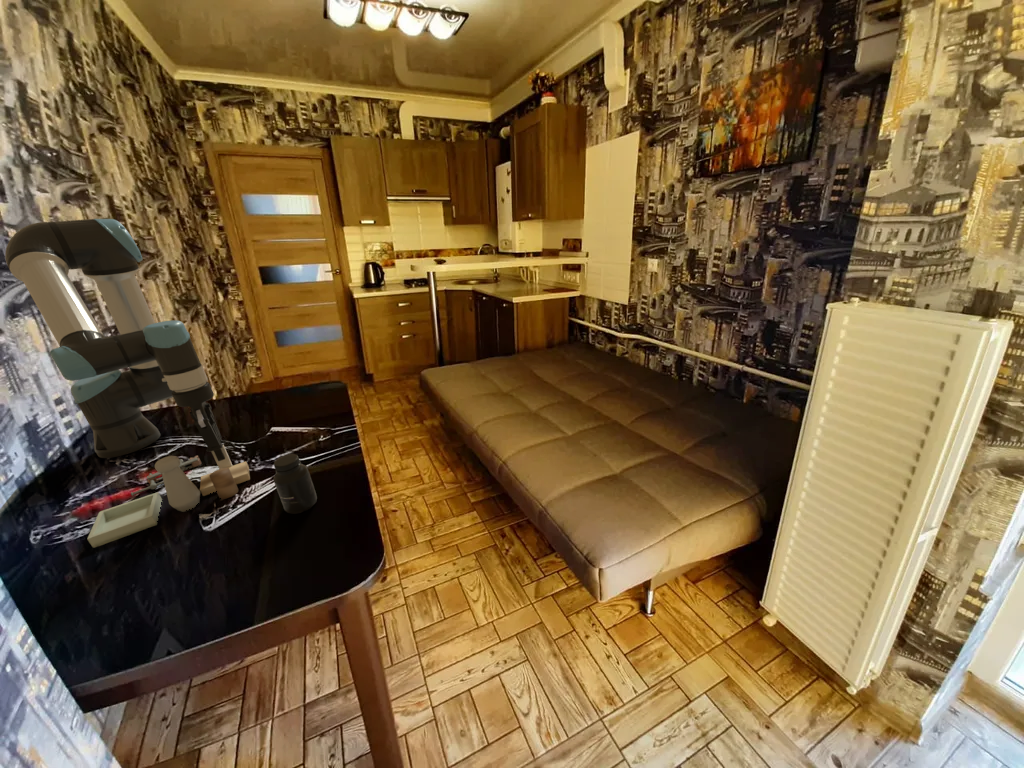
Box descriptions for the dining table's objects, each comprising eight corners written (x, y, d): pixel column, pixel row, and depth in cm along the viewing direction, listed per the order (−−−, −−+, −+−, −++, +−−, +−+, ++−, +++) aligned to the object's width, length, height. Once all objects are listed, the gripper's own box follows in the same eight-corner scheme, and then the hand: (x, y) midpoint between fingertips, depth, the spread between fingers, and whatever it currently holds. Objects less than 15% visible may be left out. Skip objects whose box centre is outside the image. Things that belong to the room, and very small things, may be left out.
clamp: (195, 451, 115) (202, 463, 108) (198, 457, 116) (205, 470, 109) (127, 476, 106) (129, 492, 99) (131, 483, 107) (133, 499, 100)
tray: (104, 520, 92) (99, 511, 91) (162, 500, 98) (158, 492, 97) (93, 548, 84) (87, 539, 83) (156, 524, 89) (151, 515, 88)
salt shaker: (184, 499, 97) (161, 453, 92) (209, 496, 97) (187, 450, 92) (167, 515, 92) (142, 468, 87) (193, 512, 92) (169, 465, 87)
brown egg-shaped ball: (219, 492, 98) (209, 472, 96) (238, 486, 100) (229, 465, 98) (219, 501, 95) (209, 480, 93) (238, 493, 97) (229, 473, 95)
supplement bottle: (285, 519, 87) (266, 473, 82) (285, 501, 93) (267, 457, 88) (319, 507, 90) (303, 462, 85) (317, 490, 95) (302, 447, 91)
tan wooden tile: (204, 484, 103) (201, 476, 102) (249, 468, 108) (246, 461, 107) (203, 497, 98) (199, 489, 97) (250, 481, 103) (247, 473, 102)
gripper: (173, 383, 100) (210, 463, 109) (167, 399, 89) (208, 486, 99) (209, 374, 103) (242, 452, 113) (207, 389, 93) (244, 473, 102)
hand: (226, 468), depth 106 cm, fingers closed
